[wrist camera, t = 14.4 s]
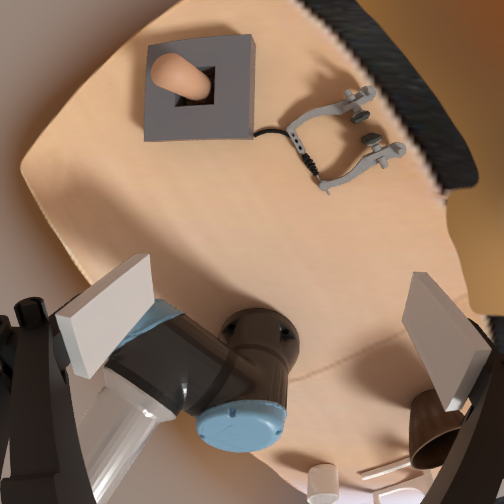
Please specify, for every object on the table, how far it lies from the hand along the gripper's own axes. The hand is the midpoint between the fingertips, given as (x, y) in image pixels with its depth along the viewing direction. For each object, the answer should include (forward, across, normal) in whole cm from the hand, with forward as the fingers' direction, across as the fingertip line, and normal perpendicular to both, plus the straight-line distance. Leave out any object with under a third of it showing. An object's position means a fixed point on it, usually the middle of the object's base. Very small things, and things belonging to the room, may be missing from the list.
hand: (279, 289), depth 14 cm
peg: (+35, +14, -16) cm, 41 cm away
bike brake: (+35, -6, -8) cm, 37 cm away
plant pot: (+35, -36, +44) cm, 67 cm away
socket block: (+35, +14, -16) cm, 41 cm away
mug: (+35, -15, +73) cm, 82 cm away
